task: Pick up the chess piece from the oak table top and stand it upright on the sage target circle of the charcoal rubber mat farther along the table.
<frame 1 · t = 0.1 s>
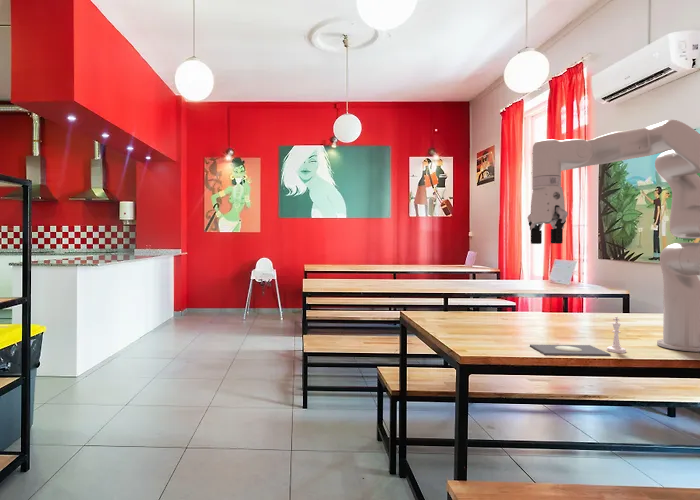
hand: (546, 243, 125), 31 cm above the table, tool pointing down, fingers open, 9 cm apart
mat: (568, 350, 127), on the table
chess piece: (616, 351, 127), on the table
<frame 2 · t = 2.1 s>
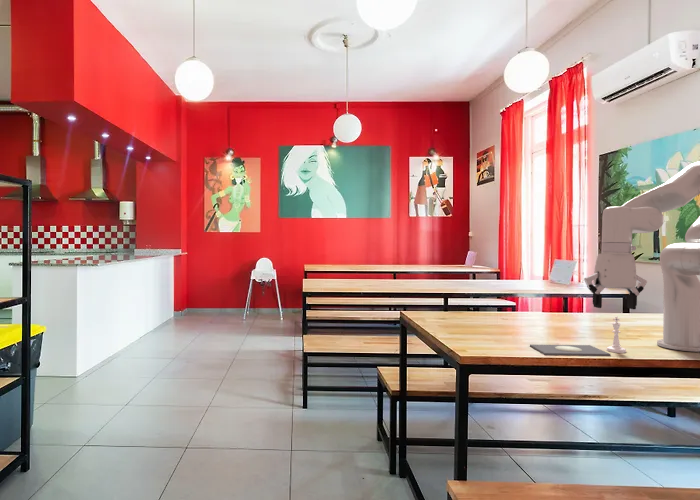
hand: (614, 308, 127), 12 cm above the table, tool pointing down, fingers open, 9 cm apart
nothing on the table moved.
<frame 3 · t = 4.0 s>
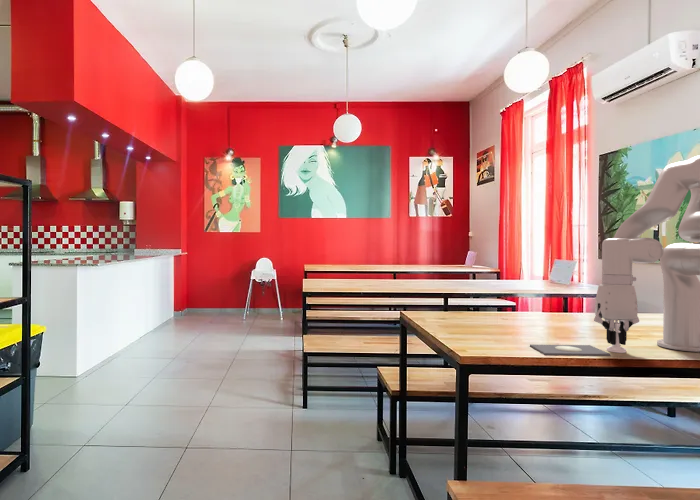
hand: (616, 343, 127), 2 cm above the table, tool pointing down, fingers closed on chess piece
chess piece: (616, 351, 127), on the table, touching gripper
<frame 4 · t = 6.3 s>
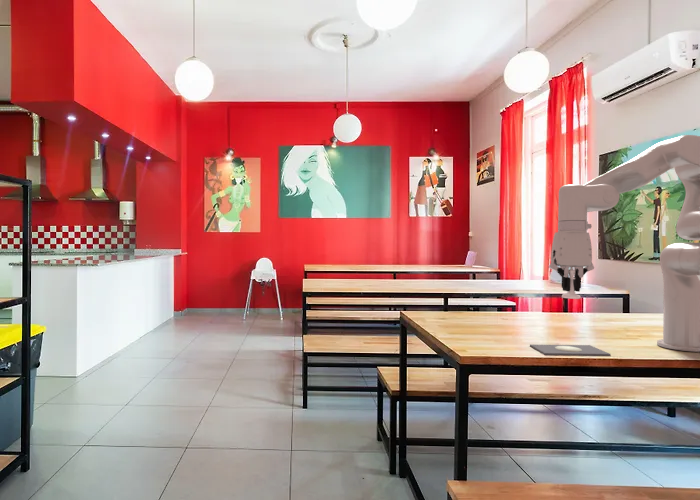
hand: (571, 290, 127), 18 cm above the table, tool pointing down, fingers closed on chess piece
chess piece: (571, 298, 127), point 15 cm above the table, touching gripper
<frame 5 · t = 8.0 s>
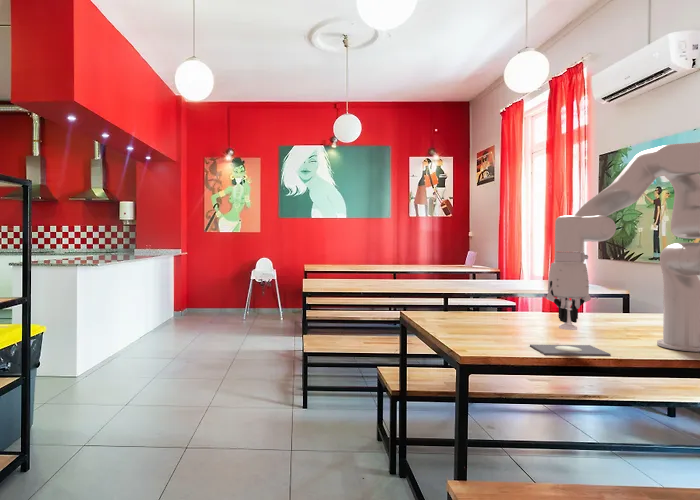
hand: (568, 321, 127), 9 cm above the table, tool pointing down, fingers closed on chess piece
chess piece: (567, 329, 127), point 6 cm above the table, touching gripper
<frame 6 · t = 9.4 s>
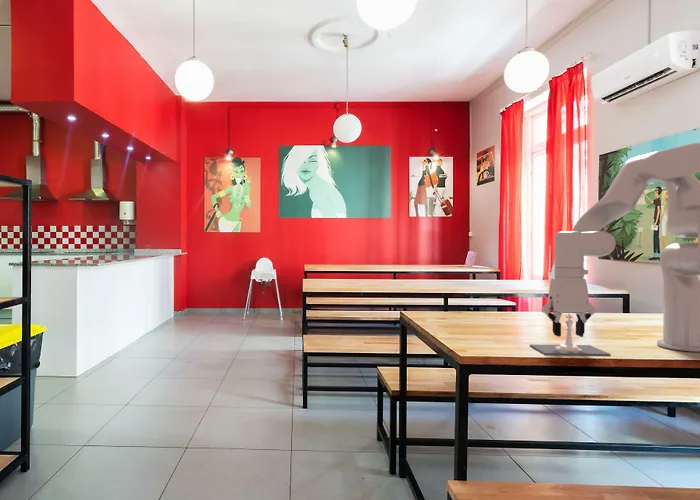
hand: (568, 335, 127), 5 cm above the table, tool pointing down, fingers open, 5 cm apart
chess piece: (568, 349, 127), resting on mat
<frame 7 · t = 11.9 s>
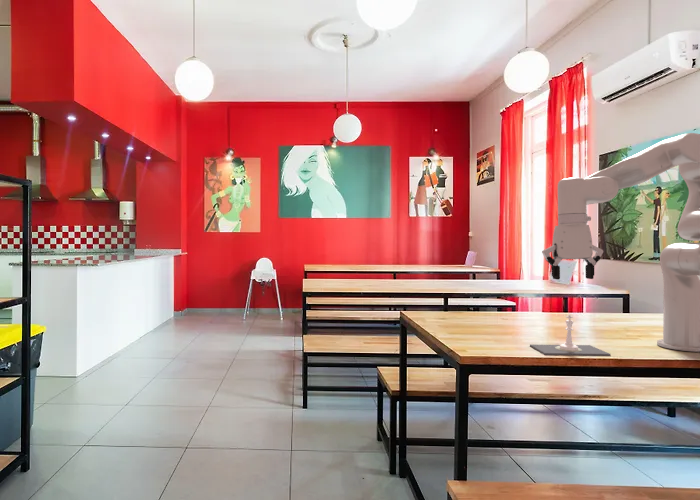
hand: (572, 278, 128), 21 cm above the table, tool pointing down, fingers open, 9 cm apart
nothing on the table moved.
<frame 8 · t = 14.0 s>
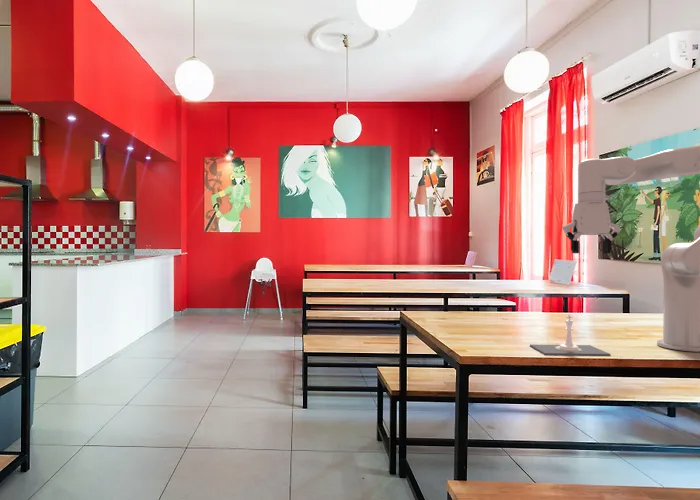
hand: (591, 253, 137), 28 cm above the table, tool pointing down, fingers open, 9 cm apart
nothing on the table moved.
at the end: chess piece 0.2 cm from the mat (horizontally); chess piece tilted 1°; chess piece touching mat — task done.
